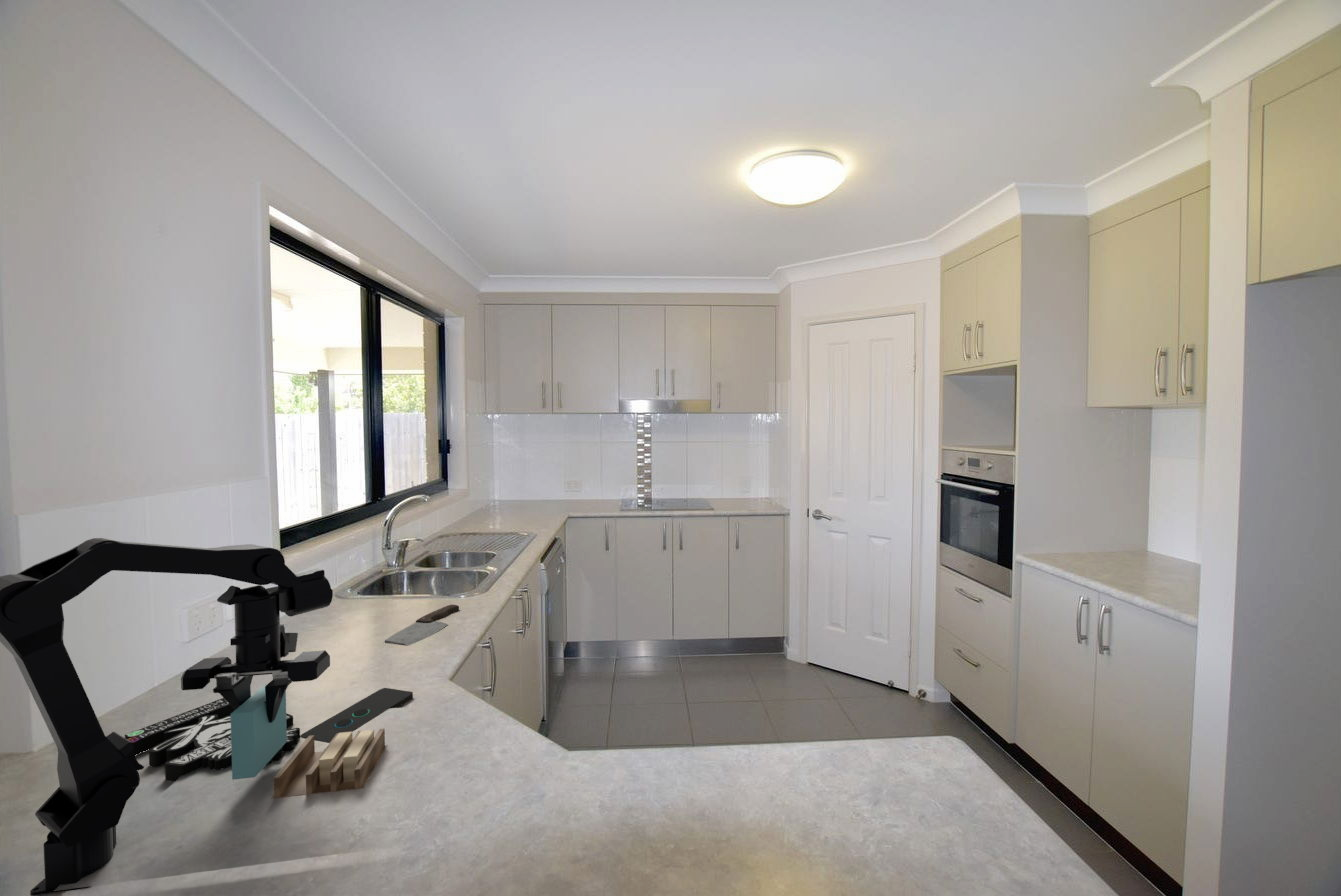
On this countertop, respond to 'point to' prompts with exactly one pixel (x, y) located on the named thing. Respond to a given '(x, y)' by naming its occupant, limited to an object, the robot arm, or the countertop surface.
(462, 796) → the countertop surface
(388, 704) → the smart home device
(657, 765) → the countertop surface
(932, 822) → the countertop surface
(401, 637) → the cleaver
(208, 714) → the sign
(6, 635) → the robot arm
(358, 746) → the offcut front
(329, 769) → the block
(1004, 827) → the countertop surface
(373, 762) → the rack
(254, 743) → the block
